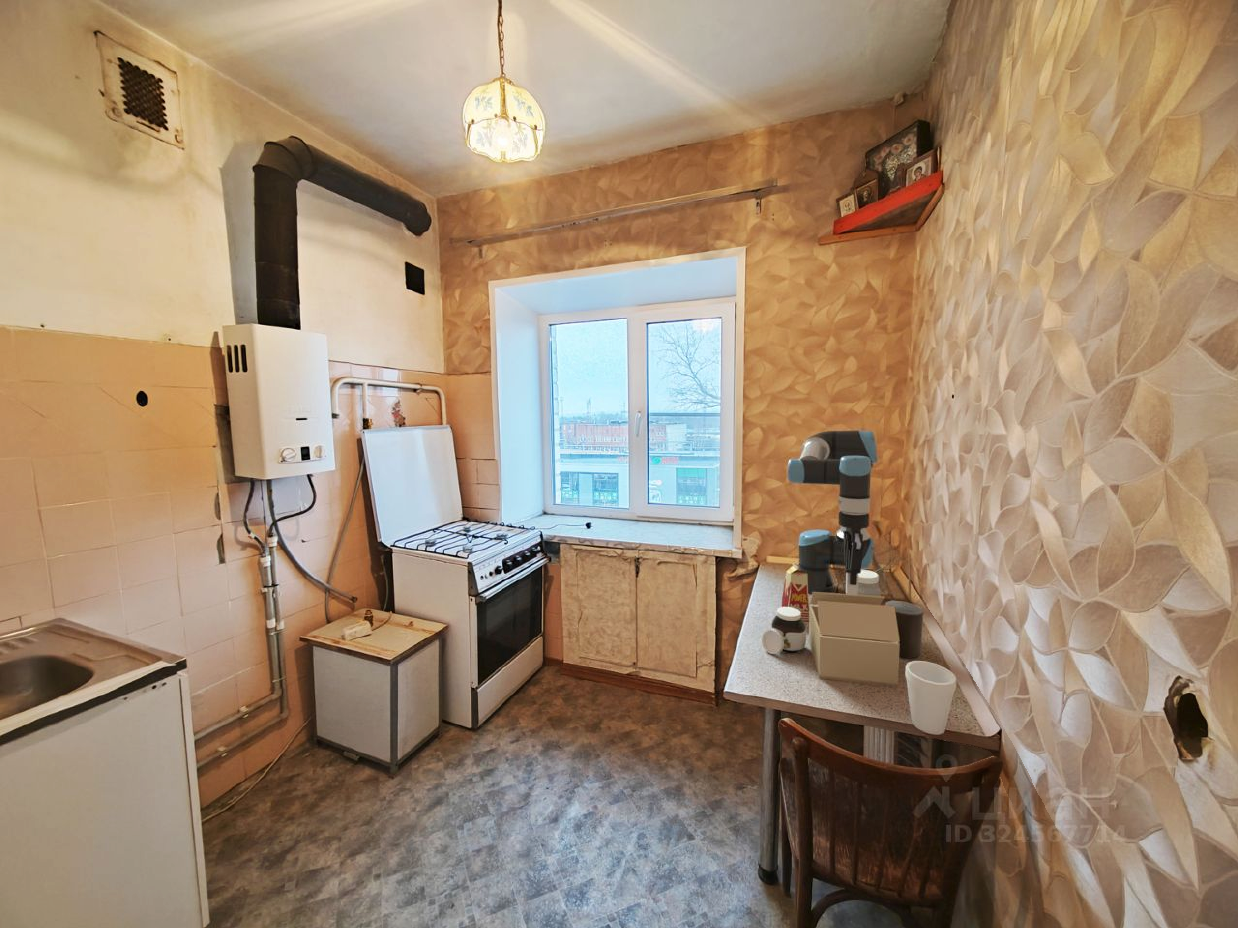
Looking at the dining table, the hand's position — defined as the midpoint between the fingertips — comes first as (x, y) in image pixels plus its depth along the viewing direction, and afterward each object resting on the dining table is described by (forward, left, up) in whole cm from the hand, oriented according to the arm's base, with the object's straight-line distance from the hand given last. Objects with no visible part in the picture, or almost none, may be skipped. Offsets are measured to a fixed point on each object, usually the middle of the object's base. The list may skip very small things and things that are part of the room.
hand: (851, 593), depth 126 cm
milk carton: (-27, -11, -21) cm, 36 cm away
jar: (-26, +10, -21) cm, 35 cm away
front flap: (+6, 0, -5) cm, 8 cm away
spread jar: (-5, -17, -21) cm, 28 cm away
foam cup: (+23, +12, -21) cm, 33 cm away
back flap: (-7, 0, -5) cm, 9 cm away
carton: (-1, 0, -21) cm, 21 cm away
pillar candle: (-11, +17, -21) cm, 29 cm away
